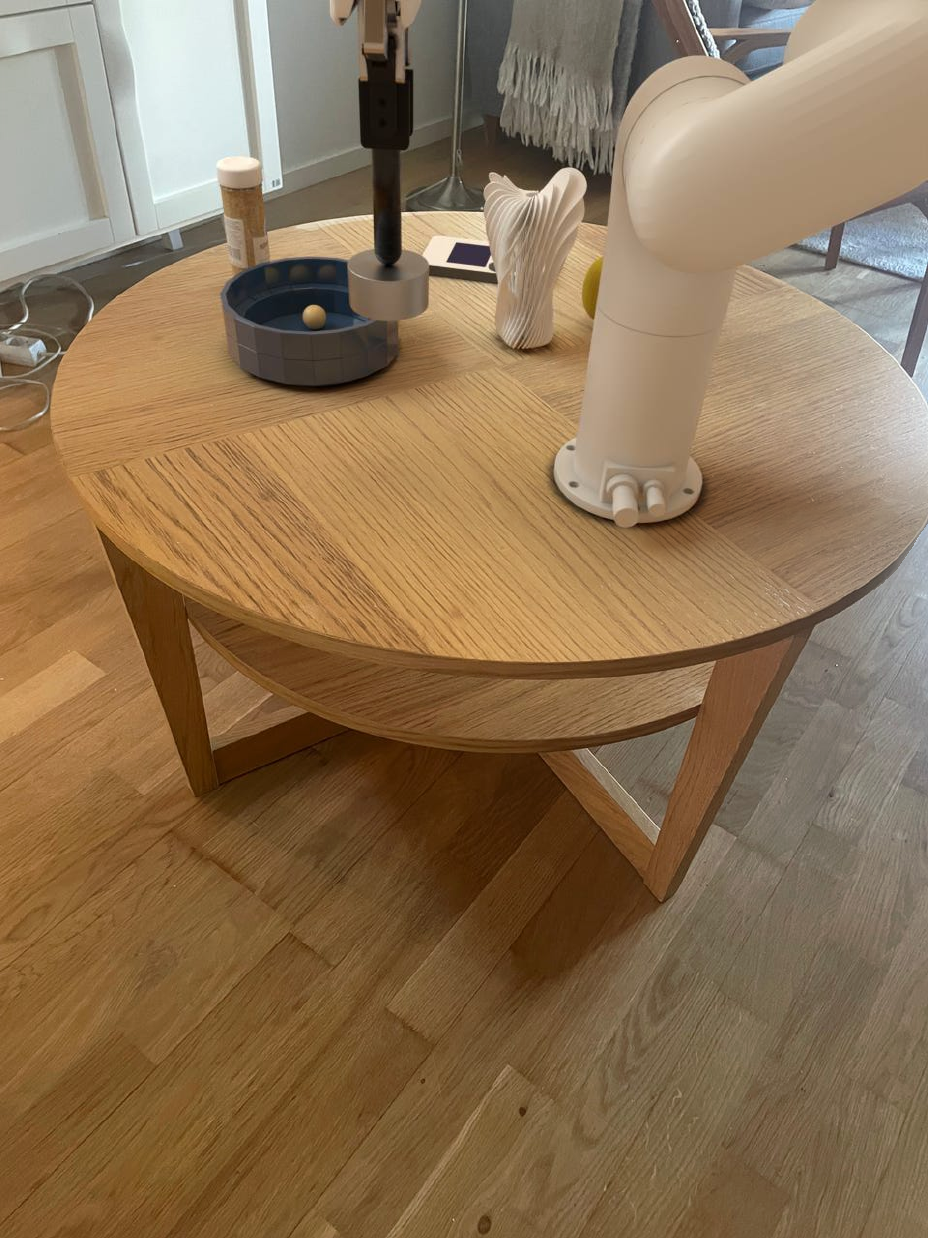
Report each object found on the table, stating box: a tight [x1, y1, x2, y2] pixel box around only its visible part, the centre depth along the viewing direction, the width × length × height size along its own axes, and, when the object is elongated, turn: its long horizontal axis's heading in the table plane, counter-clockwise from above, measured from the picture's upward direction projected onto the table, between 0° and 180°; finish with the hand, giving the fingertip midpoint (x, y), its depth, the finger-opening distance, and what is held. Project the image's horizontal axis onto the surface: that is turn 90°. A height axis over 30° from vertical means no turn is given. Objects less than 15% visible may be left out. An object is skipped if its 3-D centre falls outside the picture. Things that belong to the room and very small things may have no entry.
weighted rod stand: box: [347, 149, 430, 321], centre depth 64 cm, size 6×6×17 cm
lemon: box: [581, 255, 604, 321], centre depth 98 cm, size 6×6×8 cm
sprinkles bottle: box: [215, 155, 271, 277], centre depth 99 cm, size 5×5×13 cm
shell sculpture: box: [483, 167, 588, 350], centre depth 90 cm, size 8×8×18 cm
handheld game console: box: [421, 235, 545, 286], centre depth 110 cm, size 9×15×1 cm, turn 79°
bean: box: [303, 305, 326, 329], centre depth 95 cm, size 2×2×2 cm
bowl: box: [219, 255, 402, 387], centre depth 92 cm, size 17×17×6 cm
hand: (387, 138), depth 62 cm, fingers closed on weighted rod stand
